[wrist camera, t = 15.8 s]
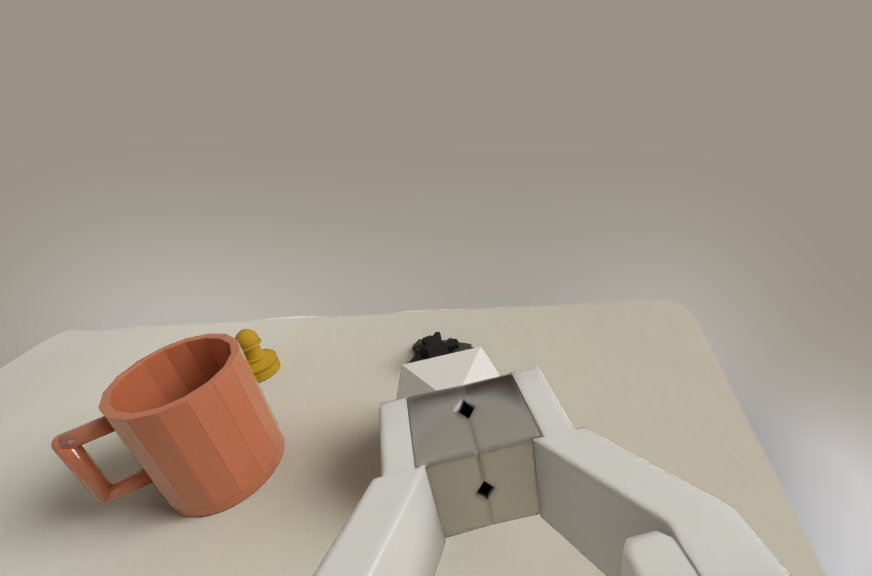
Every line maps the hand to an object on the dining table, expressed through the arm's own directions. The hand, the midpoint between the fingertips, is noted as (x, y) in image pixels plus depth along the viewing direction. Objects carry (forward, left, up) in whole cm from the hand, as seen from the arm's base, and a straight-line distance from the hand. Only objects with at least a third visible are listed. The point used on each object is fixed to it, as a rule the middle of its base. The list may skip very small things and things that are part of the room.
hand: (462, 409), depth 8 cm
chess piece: (-18, +32, -19) cm, 41 cm away
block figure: (0, +27, -19) cm, 33 cm away
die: (0, +15, -19) cm, 25 cm away
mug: (-20, +19, -19) cm, 34 cm away
